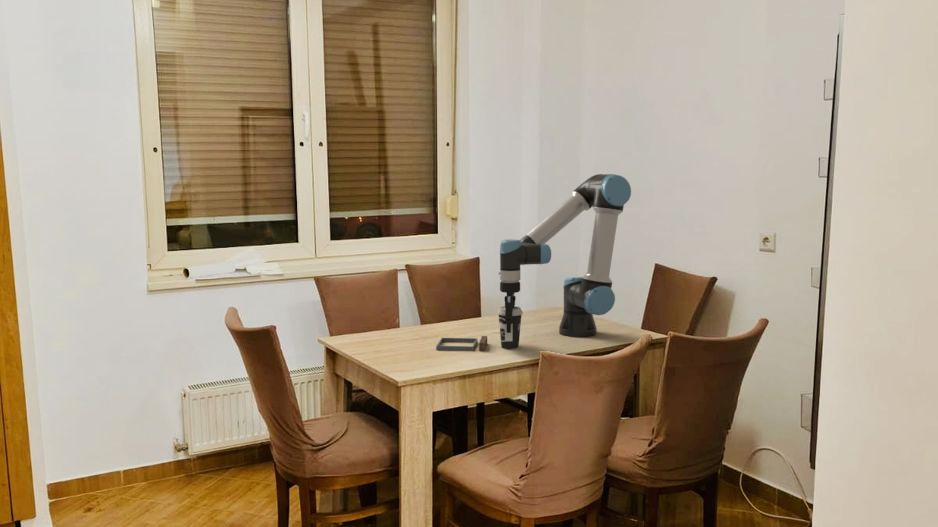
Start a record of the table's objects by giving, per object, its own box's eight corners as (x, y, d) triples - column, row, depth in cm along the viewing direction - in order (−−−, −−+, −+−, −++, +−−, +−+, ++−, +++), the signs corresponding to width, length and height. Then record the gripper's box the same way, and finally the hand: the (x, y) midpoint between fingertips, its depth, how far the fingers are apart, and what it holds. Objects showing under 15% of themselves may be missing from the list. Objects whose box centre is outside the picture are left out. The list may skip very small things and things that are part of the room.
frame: (477, 342, 302) (477, 338, 301) (473, 350, 288) (473, 346, 288) (441, 341, 303) (441, 337, 303) (436, 349, 289) (436, 345, 289)
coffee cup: (520, 350, 288) (520, 310, 286) (495, 349, 289) (495, 309, 288) (524, 344, 297) (524, 306, 295) (499, 343, 299) (499, 305, 297)
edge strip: (487, 343, 299) (487, 335, 299) (484, 350, 287) (484, 343, 287) (482, 343, 299) (482, 335, 299) (479, 350, 288) (479, 342, 287)
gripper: (502, 276, 303) (502, 329, 305) (497, 286, 278) (497, 344, 281) (521, 276, 302) (521, 330, 305) (518, 286, 277) (518, 344, 280)
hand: (509, 337), depth 293 cm, fingers open, 13 cm apart
